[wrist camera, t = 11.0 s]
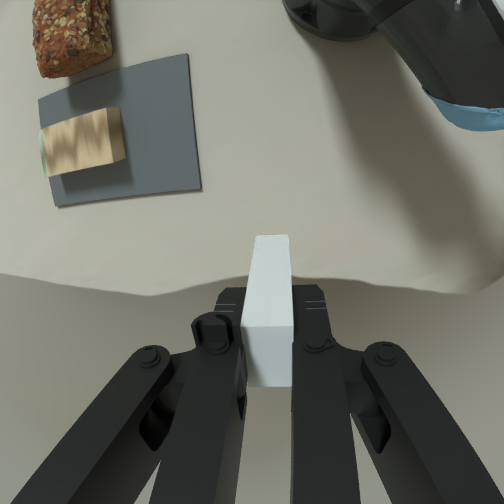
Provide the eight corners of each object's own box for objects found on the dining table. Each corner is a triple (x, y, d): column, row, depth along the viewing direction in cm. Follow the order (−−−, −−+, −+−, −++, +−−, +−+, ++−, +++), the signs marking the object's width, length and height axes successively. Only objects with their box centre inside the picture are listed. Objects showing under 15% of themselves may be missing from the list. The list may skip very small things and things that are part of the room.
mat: (40, 99, 38) (38, 99, 37) (188, 53, 35) (186, 53, 34) (57, 205, 46) (55, 206, 46) (201, 187, 44) (200, 188, 43)
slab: (119, 107, 38) (52, 127, 40) (105, 107, 35) (37, 130, 36) (125, 157, 42) (59, 171, 43) (113, 162, 38) (45, 177, 39)
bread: (118, 57, 35) (81, 49, 26) (65, 80, 37) (26, 81, 28) (111, -32, 27) (79, -52, 18) (60, -6, 29) (25, -17, 20)
